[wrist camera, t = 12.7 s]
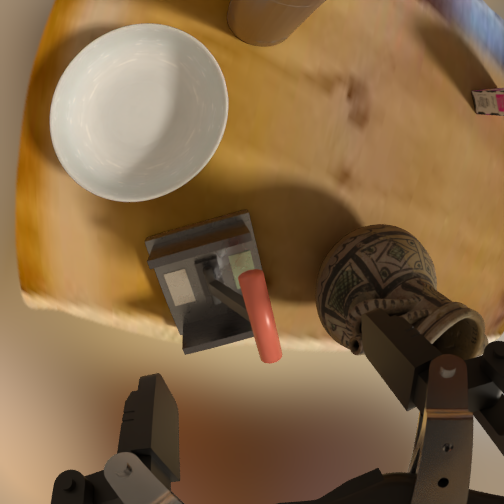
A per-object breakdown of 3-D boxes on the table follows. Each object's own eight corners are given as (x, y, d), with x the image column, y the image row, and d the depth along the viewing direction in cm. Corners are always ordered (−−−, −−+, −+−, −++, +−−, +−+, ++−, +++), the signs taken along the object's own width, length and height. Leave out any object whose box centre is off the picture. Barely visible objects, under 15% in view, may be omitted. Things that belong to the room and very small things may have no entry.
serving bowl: (61, 184, 36) (39, 193, 30) (89, 38, 30) (72, 22, 24) (206, 203, 41) (209, 214, 35) (238, 52, 35) (246, 36, 28)
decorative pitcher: (416, 227, 48) (530, 287, 25) (382, 319, 53) (465, 408, 30) (304, 196, 43) (418, 259, 20) (272, 308, 48) (332, 435, 25)
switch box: (180, 327, 46) (179, 360, 39) (146, 237, 41) (137, 258, 34) (268, 303, 48) (282, 332, 40) (246, 209, 42) (257, 224, 35)
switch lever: (213, 319, 42) (268, 366, 31) (191, 253, 39) (246, 284, 28) (227, 311, 43) (286, 355, 32) (207, 246, 40) (268, 273, 29)
